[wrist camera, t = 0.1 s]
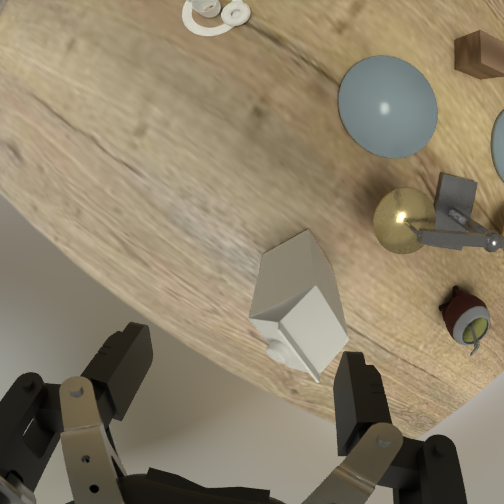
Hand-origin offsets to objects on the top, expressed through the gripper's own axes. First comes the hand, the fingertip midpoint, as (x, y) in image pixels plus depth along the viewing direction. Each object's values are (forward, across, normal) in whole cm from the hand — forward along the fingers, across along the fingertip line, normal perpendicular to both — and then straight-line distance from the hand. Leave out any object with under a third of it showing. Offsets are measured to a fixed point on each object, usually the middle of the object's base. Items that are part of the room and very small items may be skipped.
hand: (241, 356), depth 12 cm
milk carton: (+29, -4, +9) cm, 31 cm away
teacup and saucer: (+30, +9, -21) cm, 38 cm away
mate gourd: (+29, -30, +13) cm, 44 cm away
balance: (+29, -24, -1) cm, 38 cm away
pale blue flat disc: (+29, -13, -13) cm, 34 cm away
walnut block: (+29, -24, -23) cm, 44 cm away
